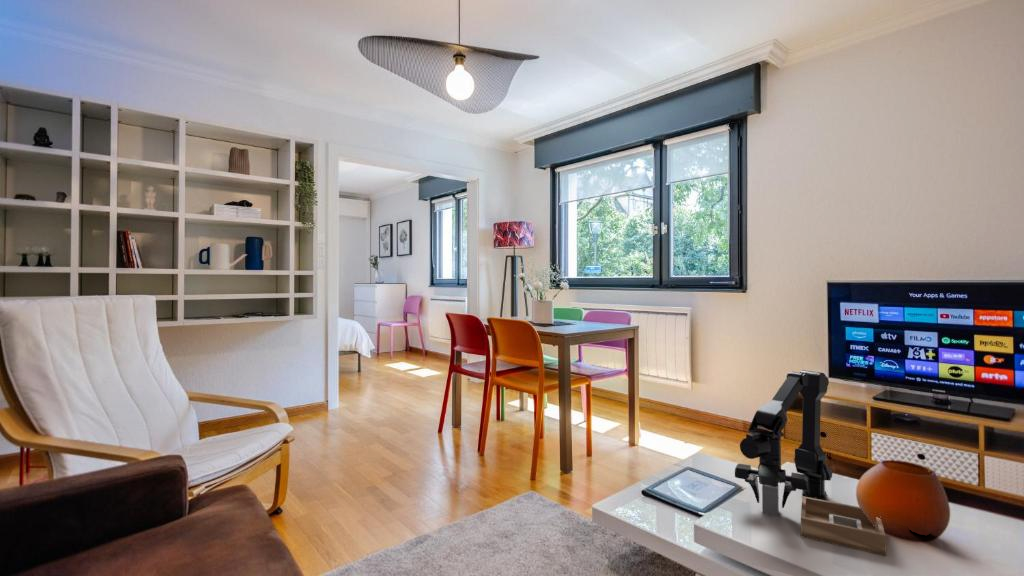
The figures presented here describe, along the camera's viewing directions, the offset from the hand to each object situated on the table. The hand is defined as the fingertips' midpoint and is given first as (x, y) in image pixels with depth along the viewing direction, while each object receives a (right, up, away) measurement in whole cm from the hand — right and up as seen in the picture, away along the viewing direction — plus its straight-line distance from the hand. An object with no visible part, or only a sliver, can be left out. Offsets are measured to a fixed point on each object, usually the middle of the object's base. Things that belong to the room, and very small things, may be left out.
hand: (770, 505), depth 142 cm
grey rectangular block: (0, -2, 0) cm, 2 cm away
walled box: (+12, -2, -12) cm, 18 cm away
